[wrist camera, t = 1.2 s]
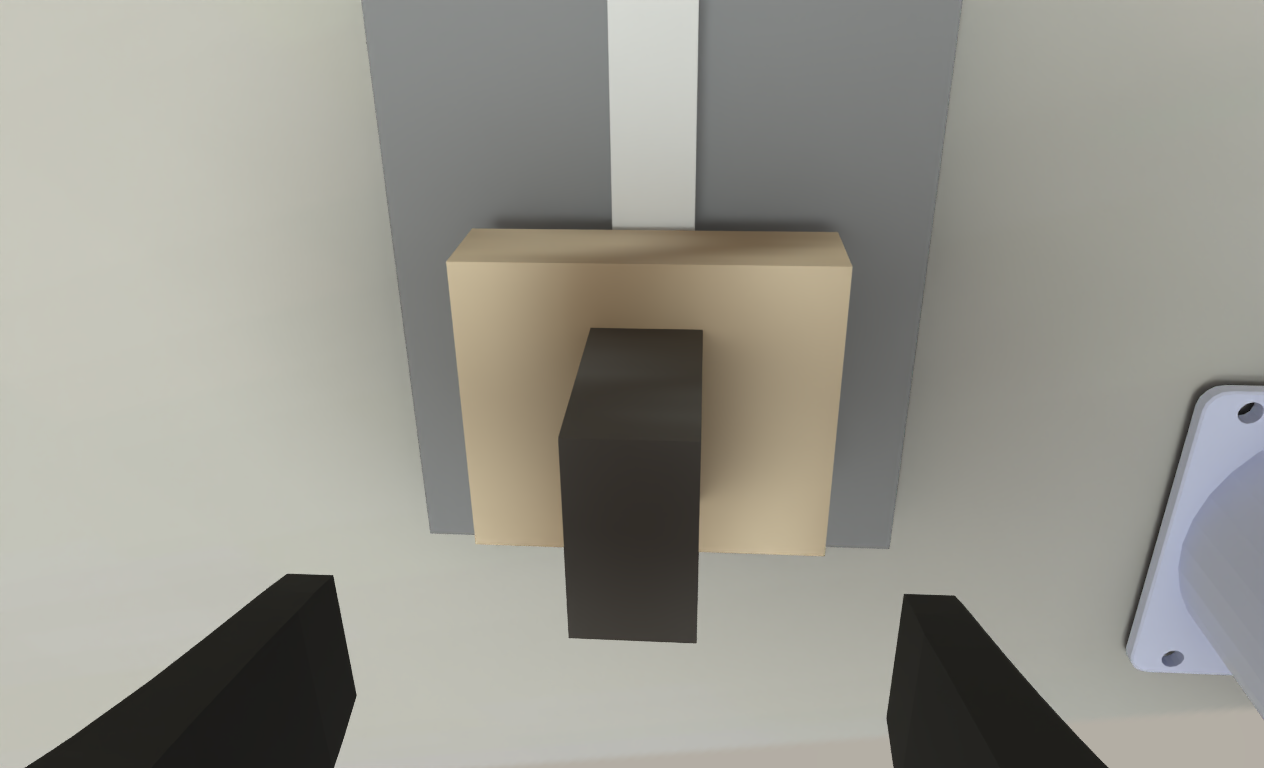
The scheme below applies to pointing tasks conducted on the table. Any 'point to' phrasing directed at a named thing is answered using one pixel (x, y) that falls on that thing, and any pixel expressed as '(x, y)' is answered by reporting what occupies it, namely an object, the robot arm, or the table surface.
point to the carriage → (649, 405)
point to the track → (670, 172)
